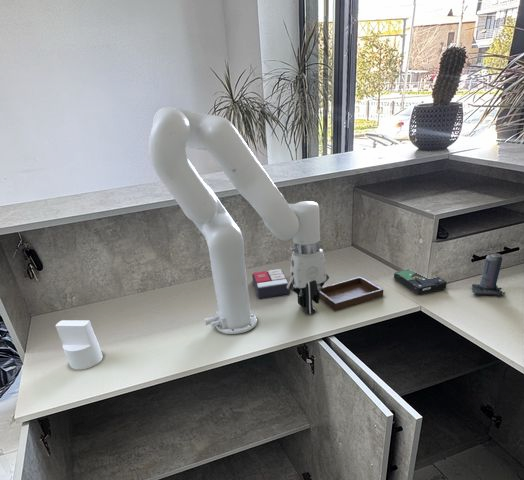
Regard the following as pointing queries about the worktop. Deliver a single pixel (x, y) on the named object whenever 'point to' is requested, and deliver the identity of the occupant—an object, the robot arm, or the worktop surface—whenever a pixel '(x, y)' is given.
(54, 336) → the worktop surface
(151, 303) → the worktop surface
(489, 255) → the grey cylinder on base
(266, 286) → the calculator
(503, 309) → the worktop surface
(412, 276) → the disk drive
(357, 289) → the tray
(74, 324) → the cylinder with rectangular tab
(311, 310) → the battery charger
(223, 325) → the robot arm
